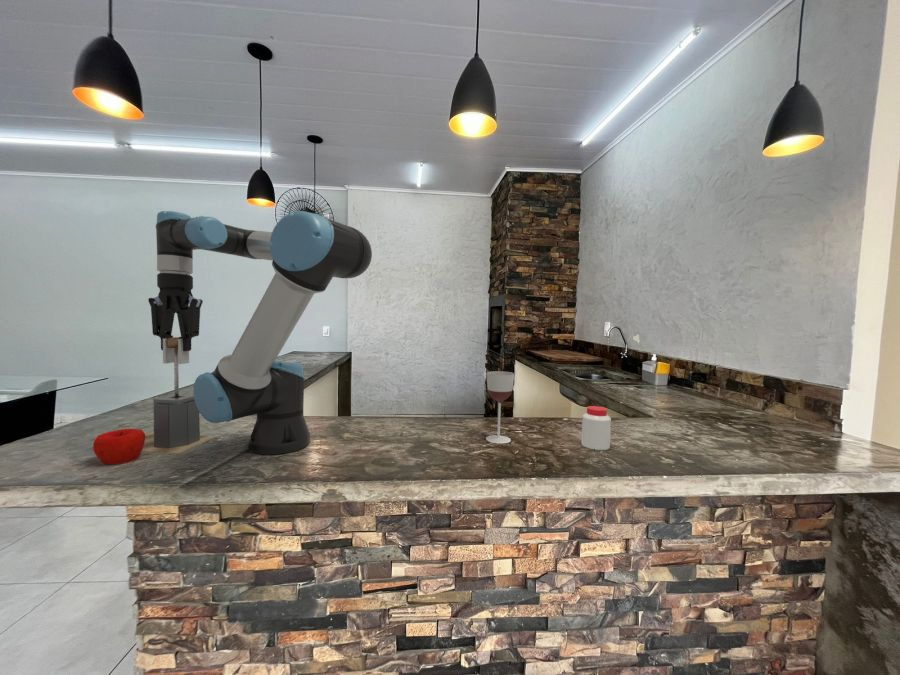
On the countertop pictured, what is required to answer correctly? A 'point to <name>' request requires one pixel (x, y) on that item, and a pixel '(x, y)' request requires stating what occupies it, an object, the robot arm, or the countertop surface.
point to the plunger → (175, 363)
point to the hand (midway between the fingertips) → (176, 363)
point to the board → (150, 448)
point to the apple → (119, 446)
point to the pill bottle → (596, 428)
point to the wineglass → (499, 396)
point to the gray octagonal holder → (175, 421)
